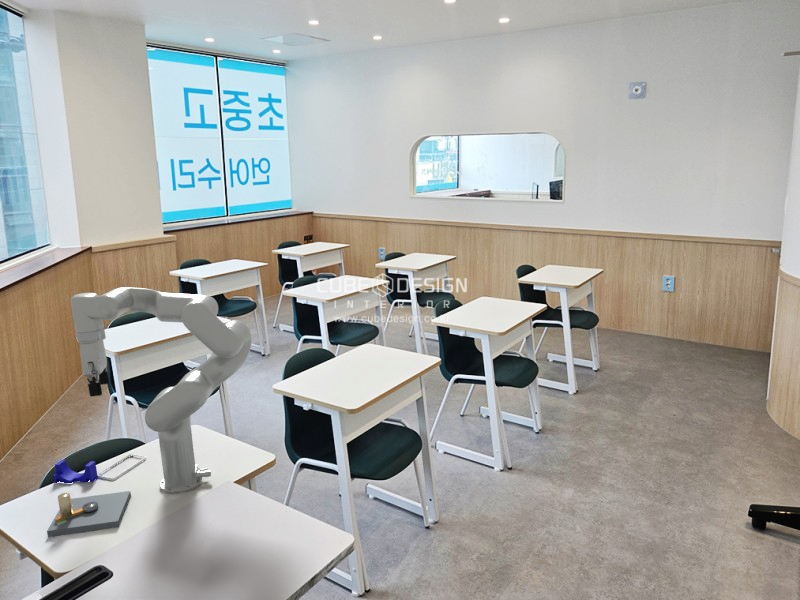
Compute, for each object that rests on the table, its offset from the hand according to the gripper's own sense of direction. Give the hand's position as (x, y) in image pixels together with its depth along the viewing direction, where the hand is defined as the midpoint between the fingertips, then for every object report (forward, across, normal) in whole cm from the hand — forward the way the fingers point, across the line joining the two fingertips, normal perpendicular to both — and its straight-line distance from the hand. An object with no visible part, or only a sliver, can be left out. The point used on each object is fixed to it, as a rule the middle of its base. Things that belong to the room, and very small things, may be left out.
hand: (99, 389), depth 180 cm
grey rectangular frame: (+33, -13, 0) cm, 36 cm away
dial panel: (+33, +15, -4) cm, 36 cm away
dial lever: (+30, +16, -7) cm, 35 cm away
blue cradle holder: (+33, -8, -13) cm, 37 cm away
